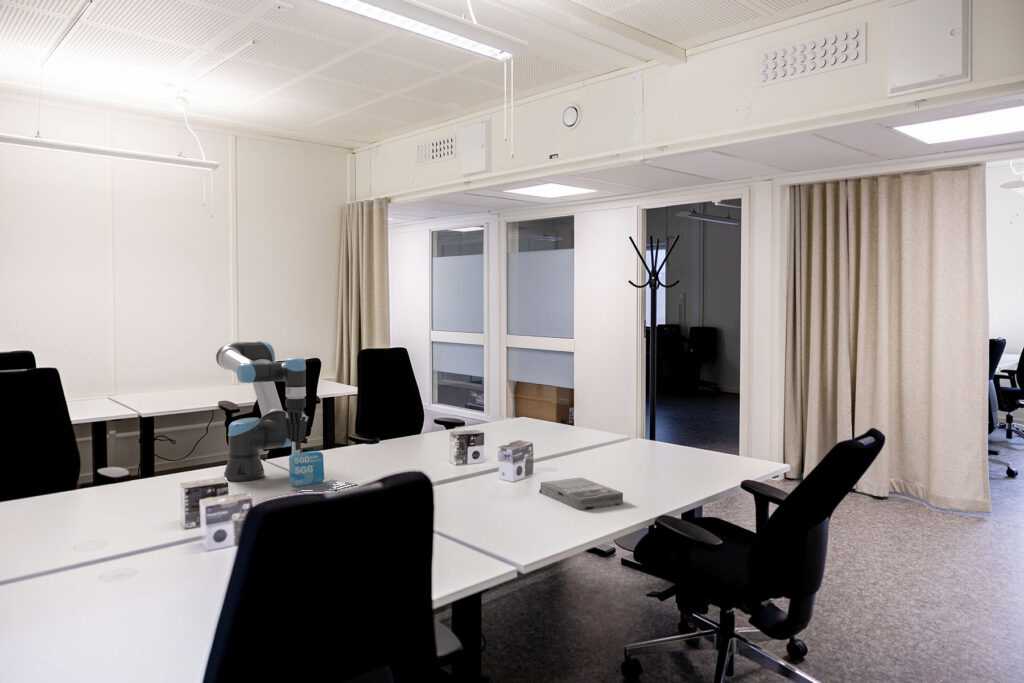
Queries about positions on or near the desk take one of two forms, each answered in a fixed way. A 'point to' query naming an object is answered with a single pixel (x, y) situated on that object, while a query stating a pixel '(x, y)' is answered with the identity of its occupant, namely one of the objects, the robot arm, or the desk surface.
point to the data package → (306, 468)
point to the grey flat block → (581, 493)
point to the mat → (323, 486)
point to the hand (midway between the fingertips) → (296, 457)
